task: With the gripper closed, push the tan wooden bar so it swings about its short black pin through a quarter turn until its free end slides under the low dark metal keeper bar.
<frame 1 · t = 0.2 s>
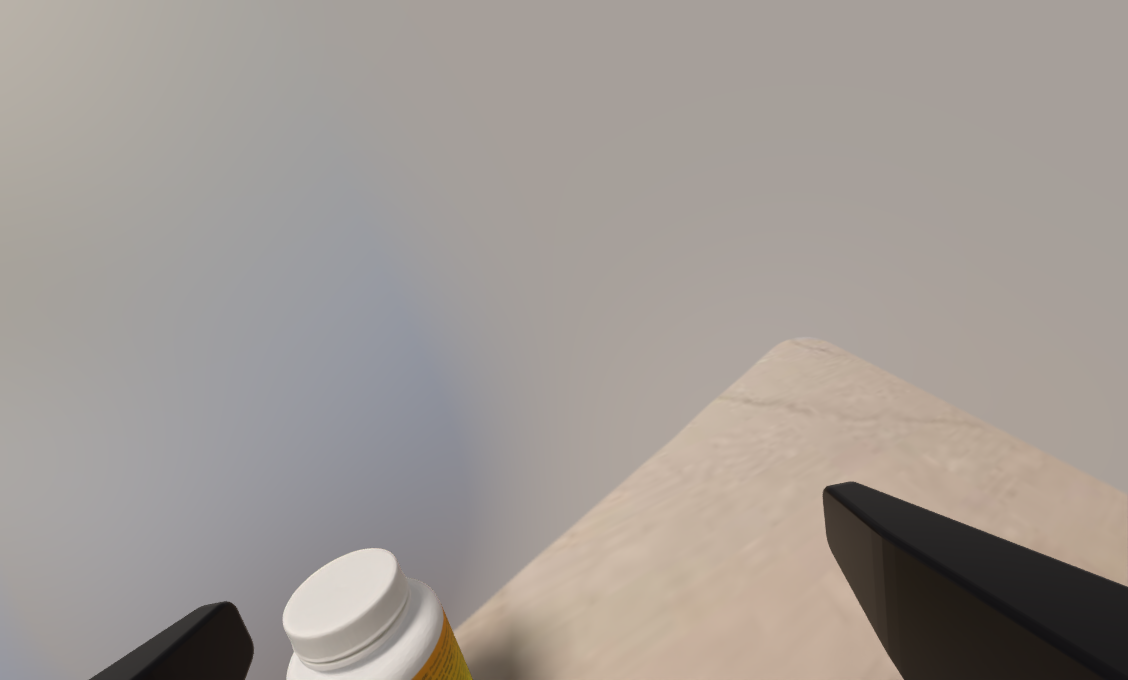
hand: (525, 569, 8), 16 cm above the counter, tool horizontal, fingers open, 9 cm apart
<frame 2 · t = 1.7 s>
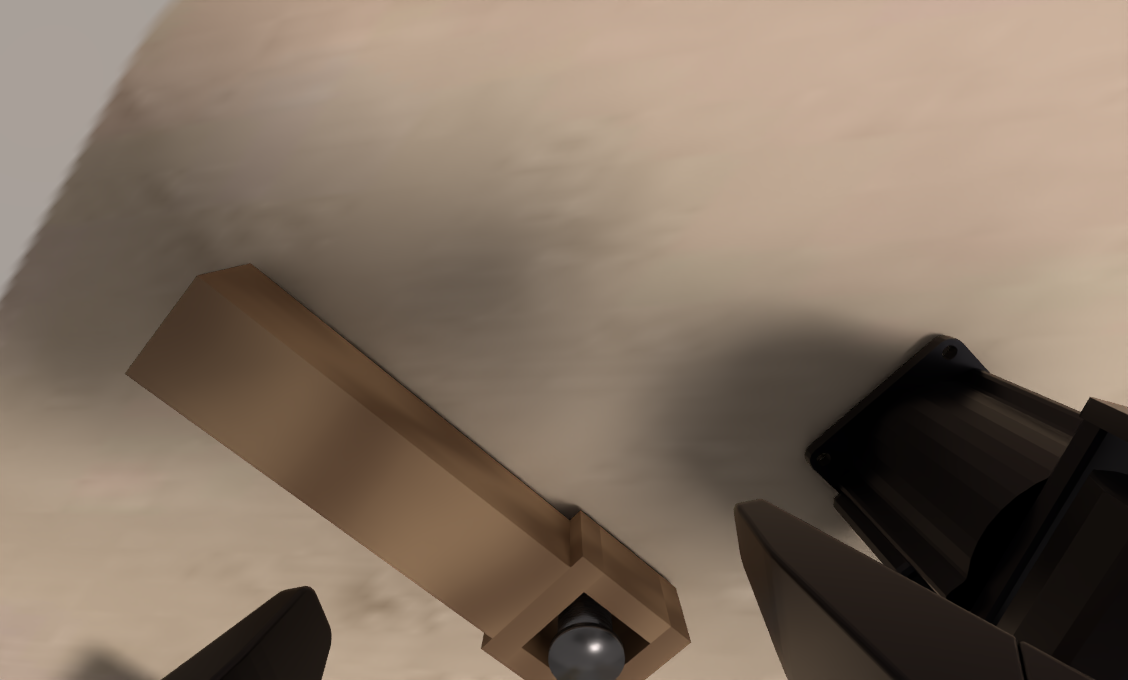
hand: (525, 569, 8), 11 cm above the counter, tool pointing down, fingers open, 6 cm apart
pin: (583, 585, 21), on the counter
tan wooden bar: (434, 501, 18), point 2 cm above the counter, hinge at 0.0°
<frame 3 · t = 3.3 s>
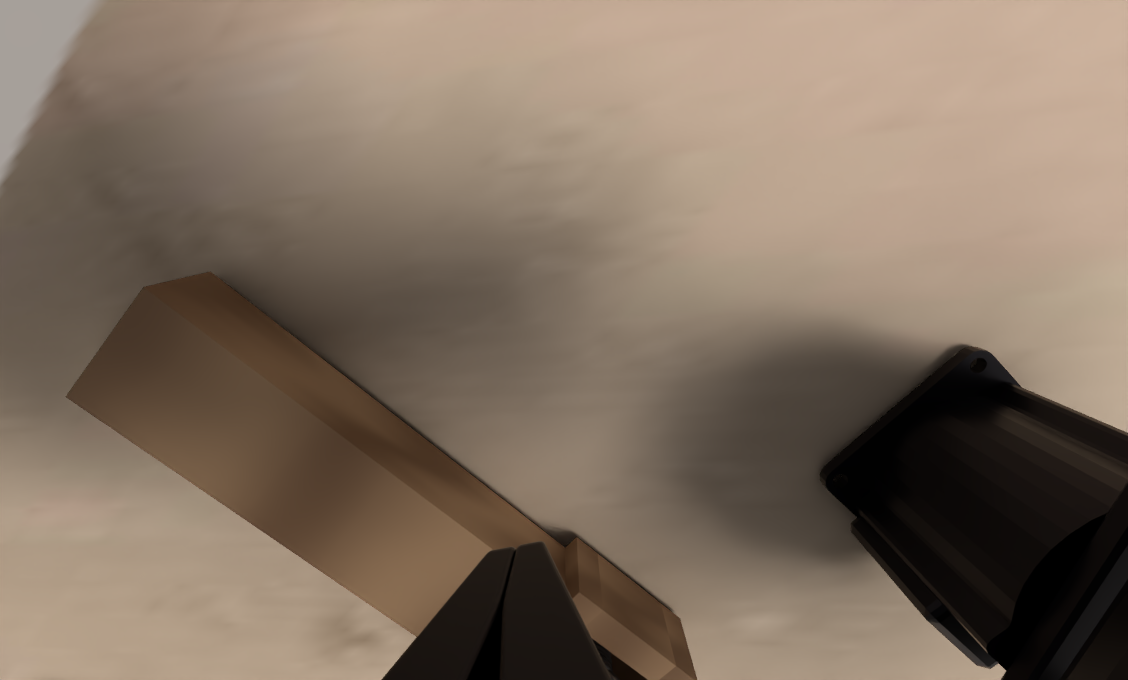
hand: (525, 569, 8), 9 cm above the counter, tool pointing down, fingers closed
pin: (579, 616, 20), on the counter
tan wooden bar: (416, 531, 17), point 2 cm above the counter, hinge at 0.0°
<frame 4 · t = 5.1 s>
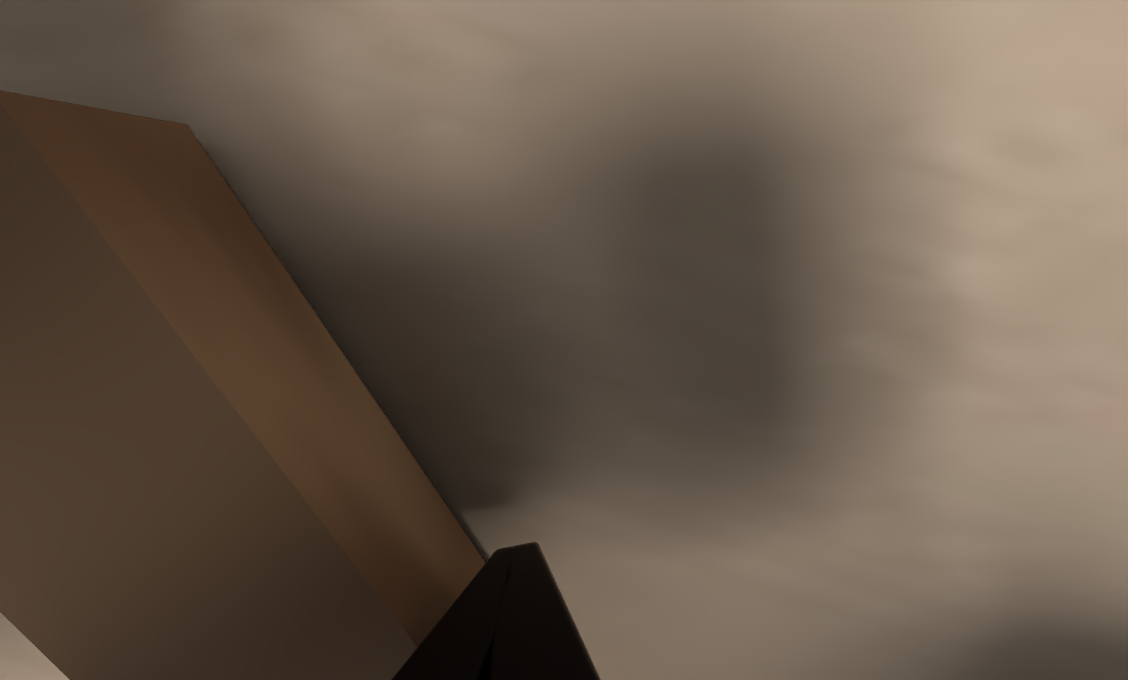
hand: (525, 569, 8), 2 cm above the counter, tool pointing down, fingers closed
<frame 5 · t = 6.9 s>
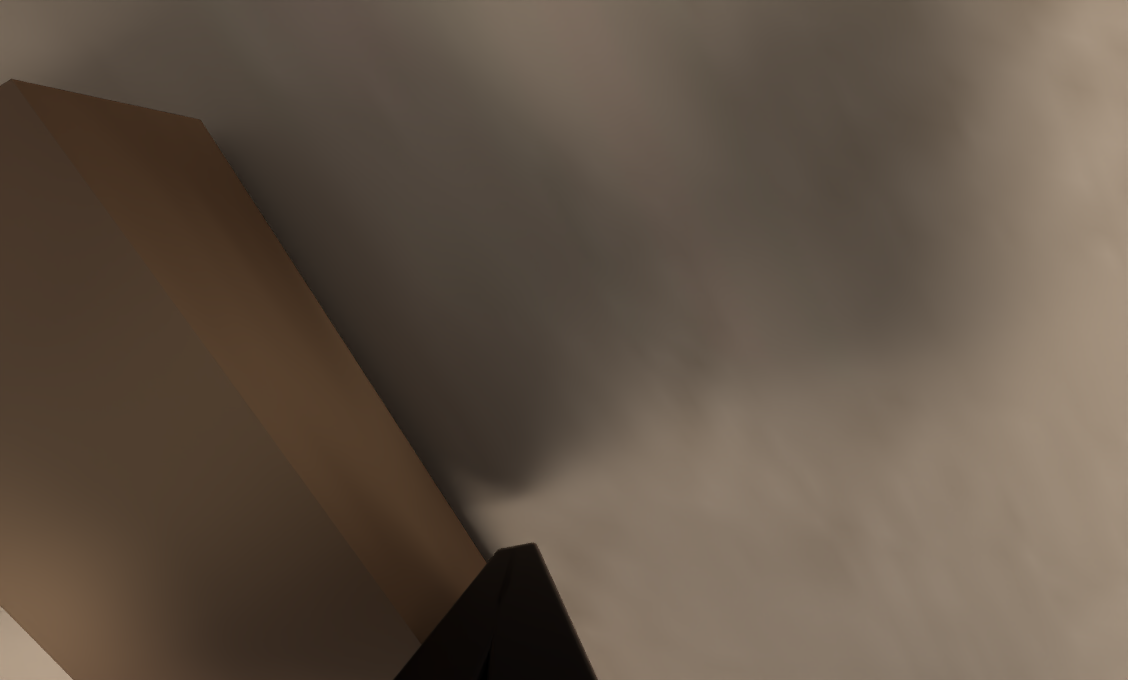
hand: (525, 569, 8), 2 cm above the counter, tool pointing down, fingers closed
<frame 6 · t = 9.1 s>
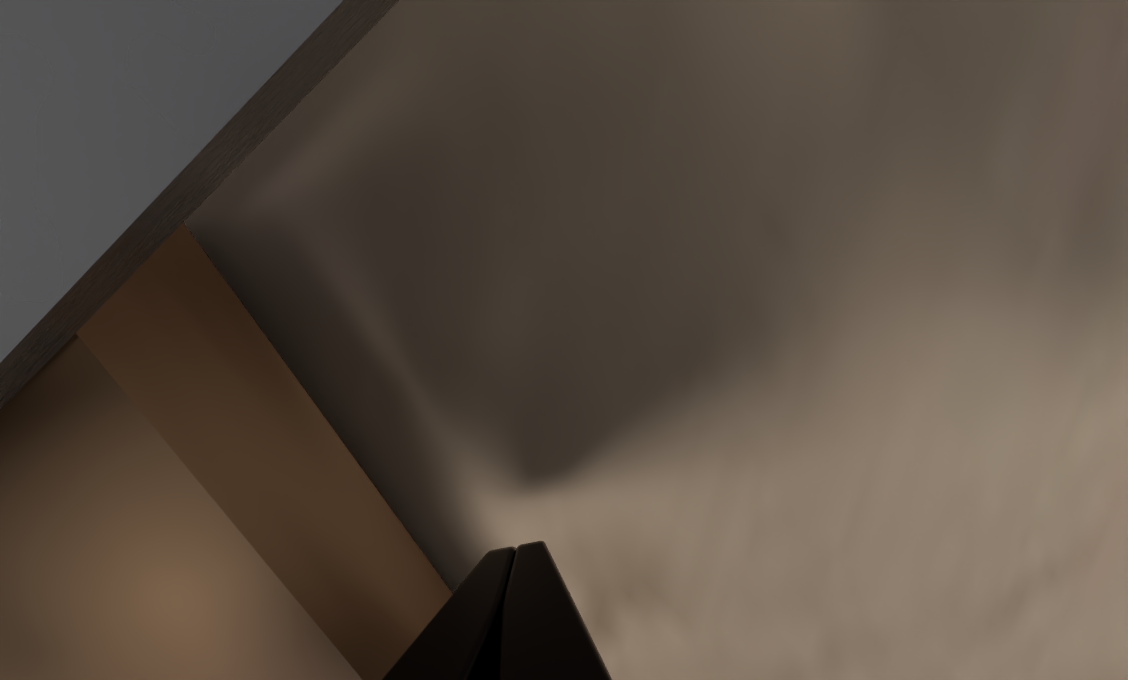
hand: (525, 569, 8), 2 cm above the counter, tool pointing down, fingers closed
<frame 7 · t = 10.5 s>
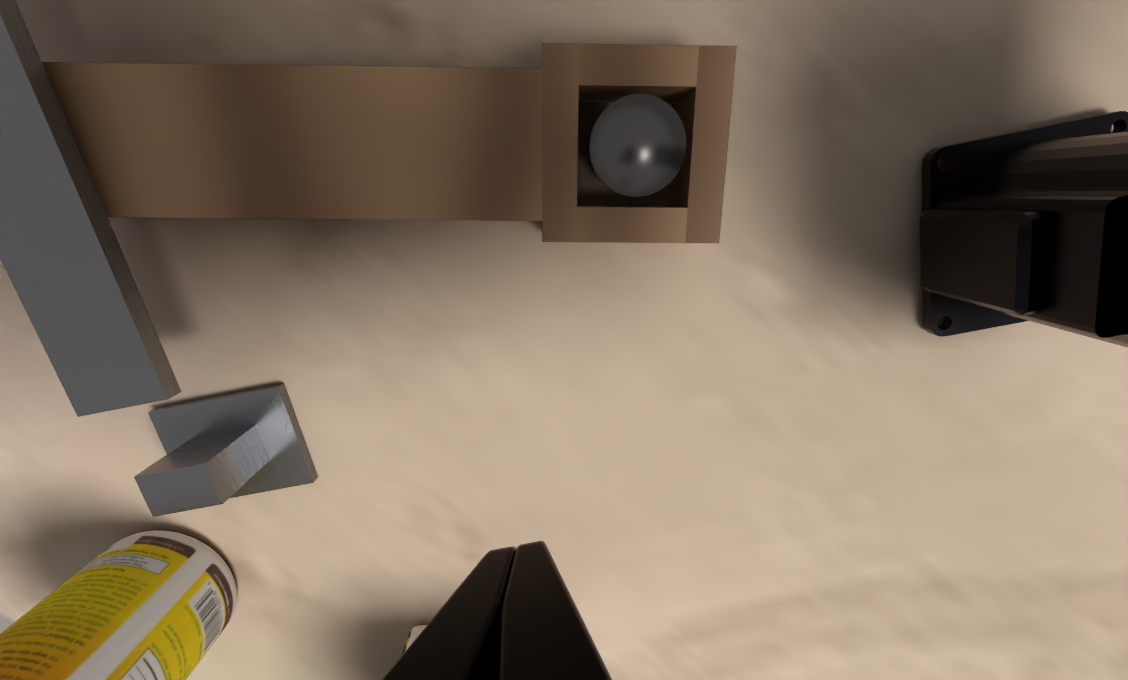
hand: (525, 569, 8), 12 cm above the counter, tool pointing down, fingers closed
keeper: (172, 278, 18), on the counter
supplement bottle: (179, 577, 22), on the counter
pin: (622, 155, 17), on the counter
tan wooden bar: (390, 149, 16), point 2 cm above the counter, hinge at 78.4°
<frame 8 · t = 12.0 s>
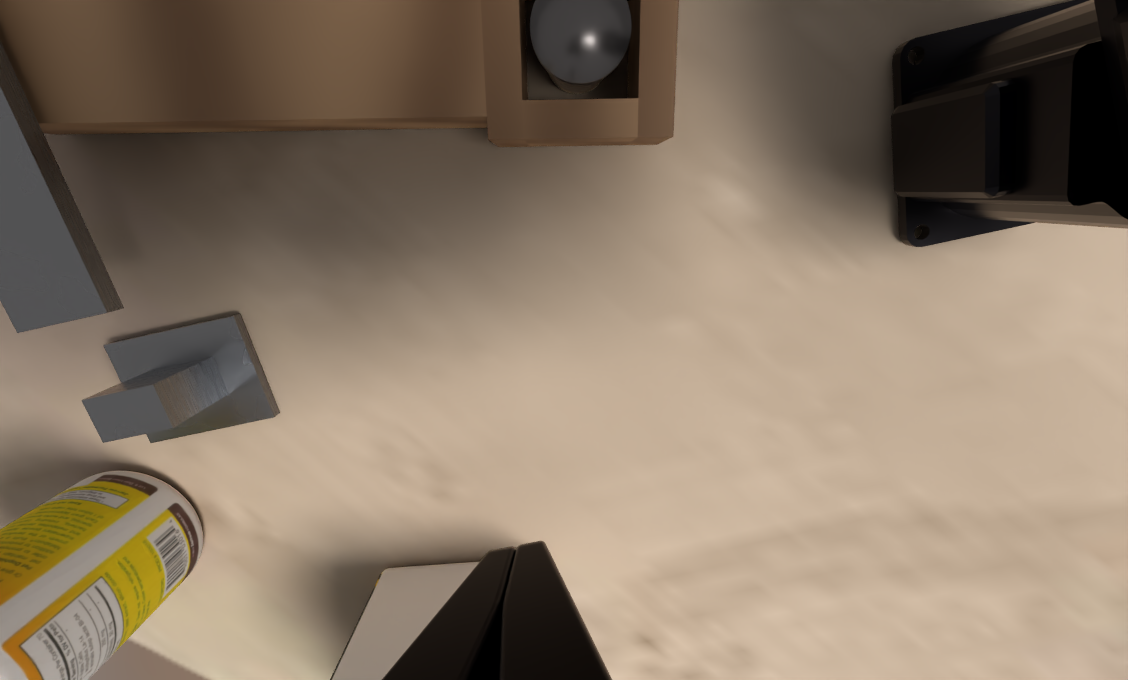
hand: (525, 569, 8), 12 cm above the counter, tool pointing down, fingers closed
keeper: (121, 204, 18), on the counter
supplement bottle: (146, 521, 22), on the counter
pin: (577, 60, 17), on the counter
tan wooden bar: (331, 50, 15), point 2 cm above the counter, hinge at 78.4°
medicine bottle: (476, 623, 23), on the counter
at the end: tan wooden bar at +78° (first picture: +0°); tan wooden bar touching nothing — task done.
